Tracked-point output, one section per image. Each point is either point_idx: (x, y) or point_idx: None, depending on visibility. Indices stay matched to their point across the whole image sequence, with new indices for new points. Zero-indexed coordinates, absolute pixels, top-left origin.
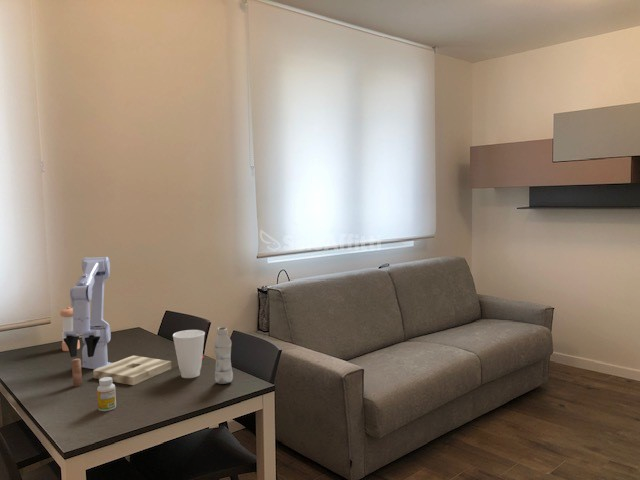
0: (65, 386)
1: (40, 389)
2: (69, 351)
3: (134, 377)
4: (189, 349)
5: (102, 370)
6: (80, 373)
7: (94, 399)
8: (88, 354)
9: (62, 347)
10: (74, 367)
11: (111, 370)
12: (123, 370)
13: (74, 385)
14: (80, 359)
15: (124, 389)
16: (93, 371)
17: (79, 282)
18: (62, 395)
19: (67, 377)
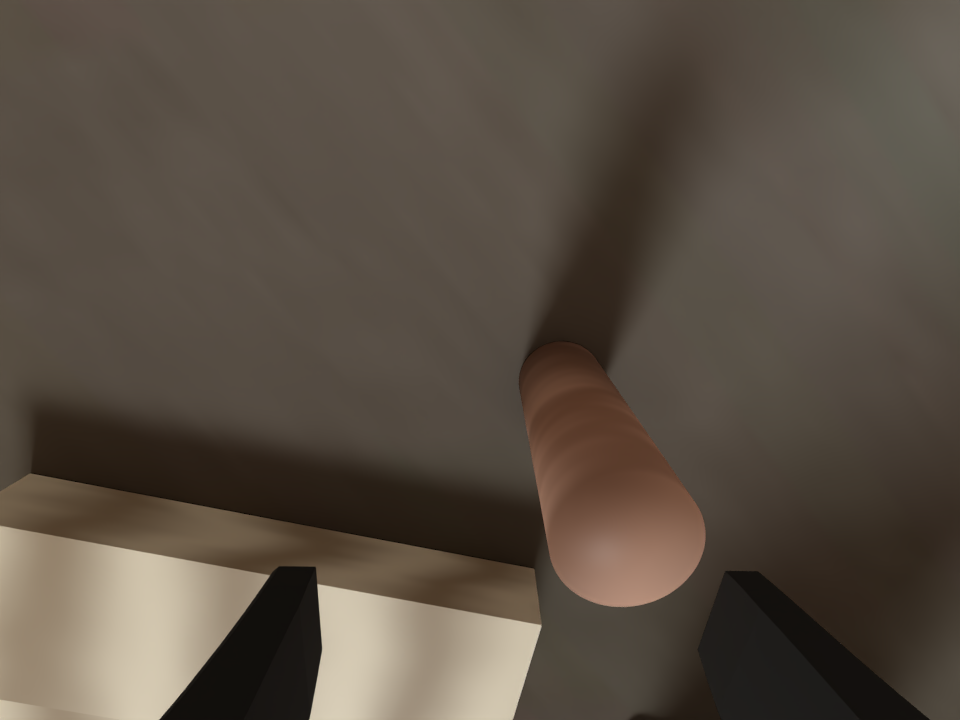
0: (668, 334)
1: (891, 206)
2: (860, 665)
3: None
4: None
5: (438, 633)
6: (528, 433)
7: (89, 53)
8: (268, 603)
9: None
10: (592, 424)
11: (341, 646)
12: None
13: (567, 344)
14: (555, 568)
15: (24, 370)
16: (538, 614)
17: None
18: (526, 90)
19: (800, 542)
